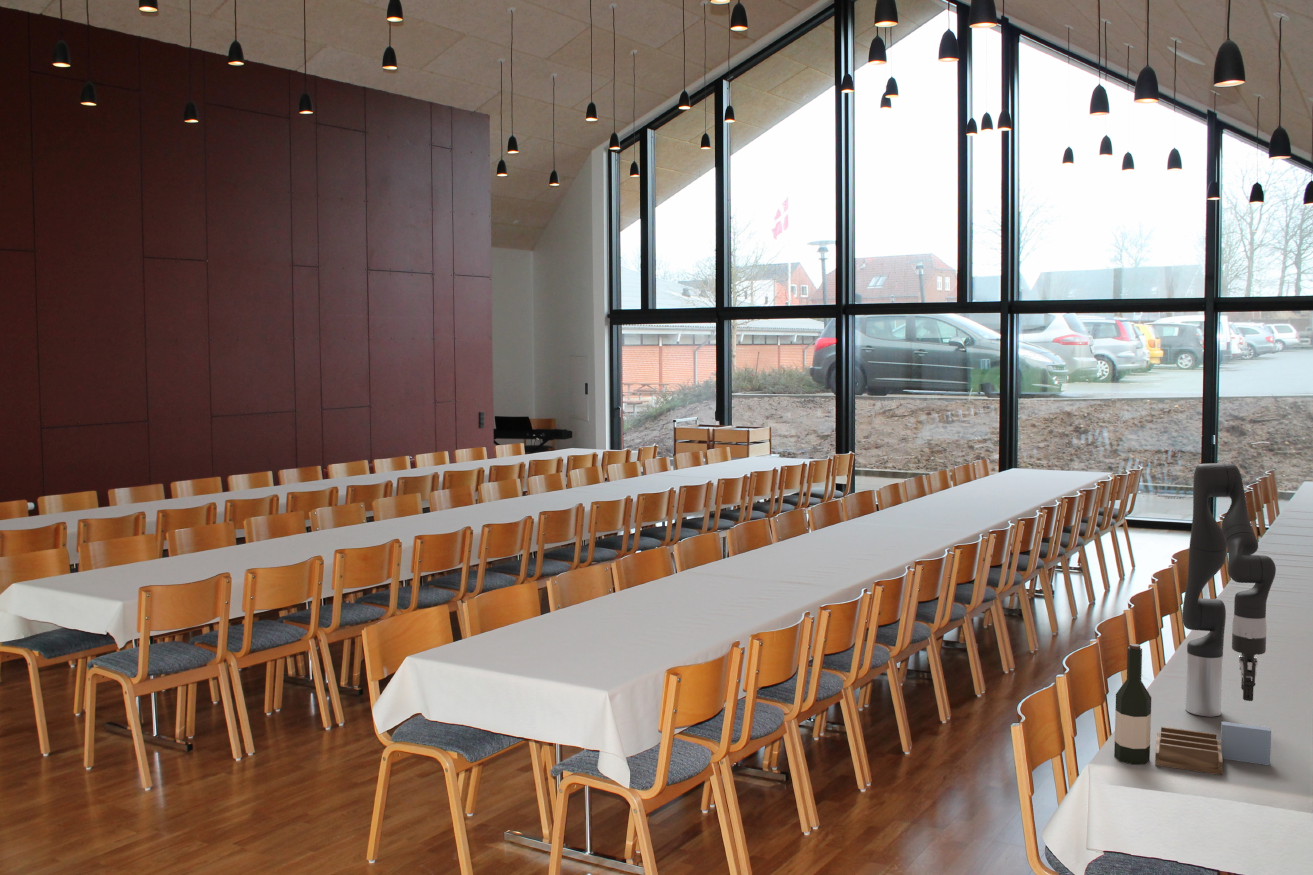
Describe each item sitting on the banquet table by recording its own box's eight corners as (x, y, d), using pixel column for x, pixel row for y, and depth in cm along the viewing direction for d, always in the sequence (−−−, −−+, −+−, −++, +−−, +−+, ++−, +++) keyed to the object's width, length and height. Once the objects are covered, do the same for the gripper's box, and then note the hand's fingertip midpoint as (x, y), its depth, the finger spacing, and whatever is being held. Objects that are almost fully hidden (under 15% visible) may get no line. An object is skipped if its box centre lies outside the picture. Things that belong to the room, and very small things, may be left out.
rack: (1156, 743, 281) (1157, 724, 280) (1220, 752, 274) (1220, 732, 274) (1155, 764, 267) (1155, 744, 266) (1222, 774, 260) (1222, 754, 259)
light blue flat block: (1220, 754, 273) (1221, 721, 272) (1269, 761, 268) (1270, 727, 267) (1220, 758, 270) (1221, 724, 270) (1269, 765, 265) (1271, 730, 265)
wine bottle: (1150, 766, 266) (1154, 650, 263) (1114, 762, 269) (1117, 647, 266) (1148, 754, 273) (1151, 642, 271) (1113, 750, 276) (1116, 639, 274)
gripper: (1231, 624, 274) (1229, 685, 276) (1233, 638, 262) (1231, 701, 263) (1264, 627, 271) (1262, 688, 272) (1268, 641, 258) (1265, 705, 260)
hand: (1247, 695), depth 268 cm, fingers open, 8 cm apart
